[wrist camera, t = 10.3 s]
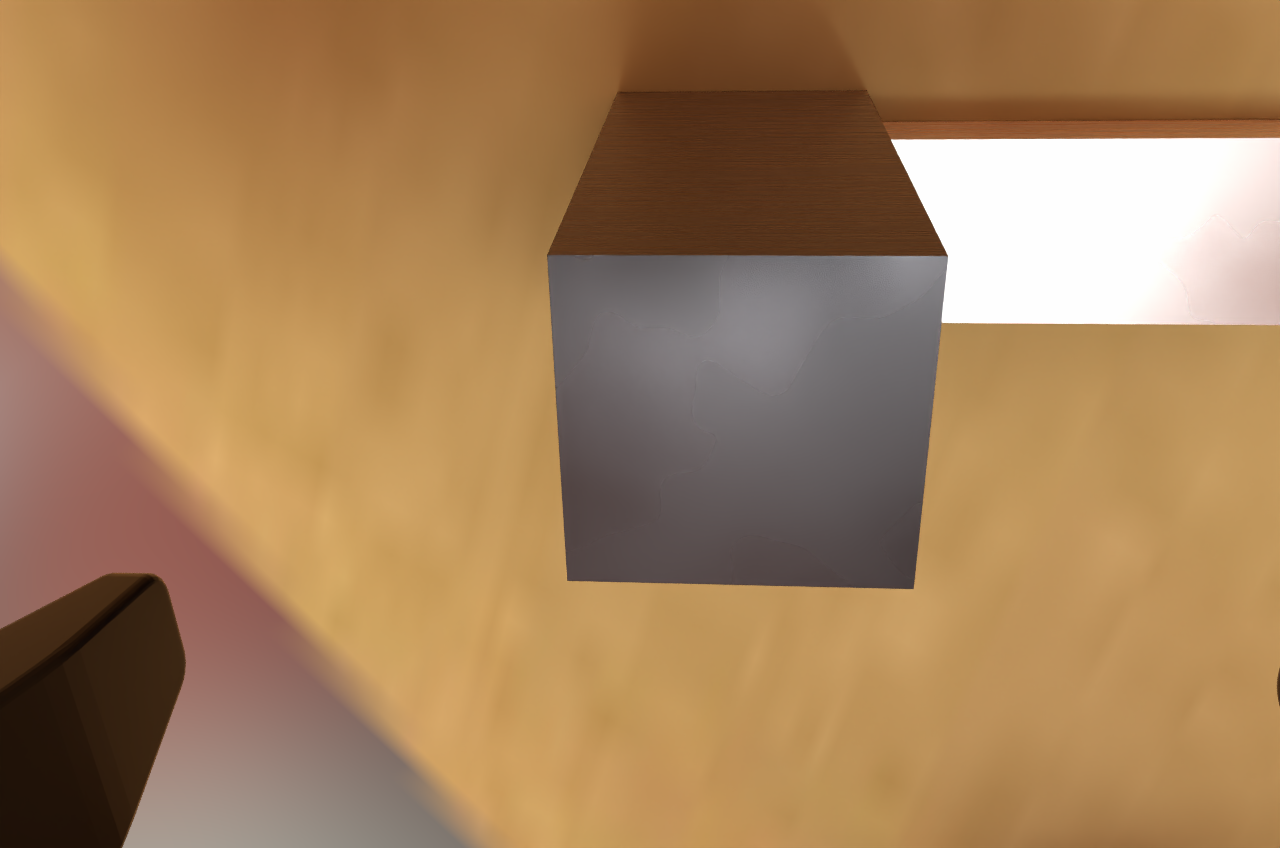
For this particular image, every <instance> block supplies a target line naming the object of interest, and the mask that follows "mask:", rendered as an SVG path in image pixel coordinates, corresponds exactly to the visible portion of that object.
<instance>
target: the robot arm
mask: <svg viewBox="0 0 1280 848" xmlns="http://www.w3.org/2000/svg"><path fill="white" fill-rule="evenodd" d="M185 661H186V660H185V651H184V647H183V643H182V640H181V637H180V632H179V629H178V625H177V621H176V618H175V614H174V610H173V606H172V603H171V599H170V595H169V592H168V589H167V586H166V584H165V583H164V581H163V580H162V579H161V578H160V577H158V576H157V575H155V574H151V573H111V574H106V575H104V576H102V577H100V578H98V579H96V580H94V581H92V582H90V583H88V584H86V585H84V586H82V587H80V588H78V589H76V590H75V591H73V592H71V593H69V594H67V595H65V596H63V597H61V598H59V599H57V600H55V601H53V602H52V603H50V604H48V605H46V606H44V607H42V608H40V609H38V610H36V611H34V612H32V613H30V614H28V615H26V616H24V617H23V618H21V619H19V620H17V621H15V622H13V623H11V624H9V625H7V626H5V627H3V628H1V629H0V848H122V847H123V844H124V842H125V839H126V837H127V834H128V832H129V829H130V827H131V824H132V822H133V819H134V817H135V814H136V811H137V808H138V806H139V803H140V800H141V797H142V795H143V792H144V789H145V786H146V784H147V780H148V778H149V775H150V773H151V770H152V767H153V764H154V762H155V759H156V756H157V753H158V750H159V748H160V745H161V742H162V739H163V736H164V734H165V731H166V728H167V726H168V723H169V720H170V717H171V714H172V712H173V709H174V706H175V704H176V701H177V698H178V695H179V693H180V690H181V686H182V684H183V680H184V675H185V667H186V662H185ZM1277 695H1278V701H1279V705H1280V669H1279V673H1278V679H1277Z"/></svg>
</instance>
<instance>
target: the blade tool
mask: <svg viewBox="0 0 1280 848" xmlns="http://www.w3.org/2000/svg"><path fill="white" fill-rule="evenodd" d="M547 259H548V275H549V291H550V307H551V323H552V339H553V356H554V372H555V388H556V404H557V420H558V436H559V453H560V469H561V485H562V501H563V517H564V533H565V549H566V566H567V581H598V582H640V583H682V584H724V585H766V586H808V587H850V588H892V589H914V580H915V571H916V561H917V551H918V542H919V532H920V523H921V513H922V504H923V494H924V485H925V475H926V466H927V456H928V446H929V437H930V427H931V418H932V408H933V399H934V389H935V380H936V370H937V361H938V351H939V342H940V332H941V323H1052V324H1198V325H1280V120H1111V121H942V122H882V120H881V118H880V116H879V114H878V112H877V110H876V108H875V106H874V104H873V102H872V100H871V98H870V96H869V94H868V92H867V90H862V91H735V92H618V93H617V95H616V98H615V100H614V102H613V105H612V107H611V109H610V112H609V114H608V116H607V119H606V121H605V123H604V125H603V128H602V130H601V132H600V135H599V137H598V139H597V142H596V144H595V146H594V148H593V151H592V153H591V155H590V158H589V160H588V162H587V165H586V167H585V169H584V172H583V174H582V176H581V178H580V181H579V183H578V185H577V188H576V190H575V192H574V195H573V197H572V199H571V201H570V204H569V206H568V208H567V211H566V213H565V215H564V218H563V220H562V222H561V225H560V227H559V229H558V231H557V234H556V236H555V238H554V241H553V243H552V245H551V248H550V250H549V252H548V254H547Z"/></svg>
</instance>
